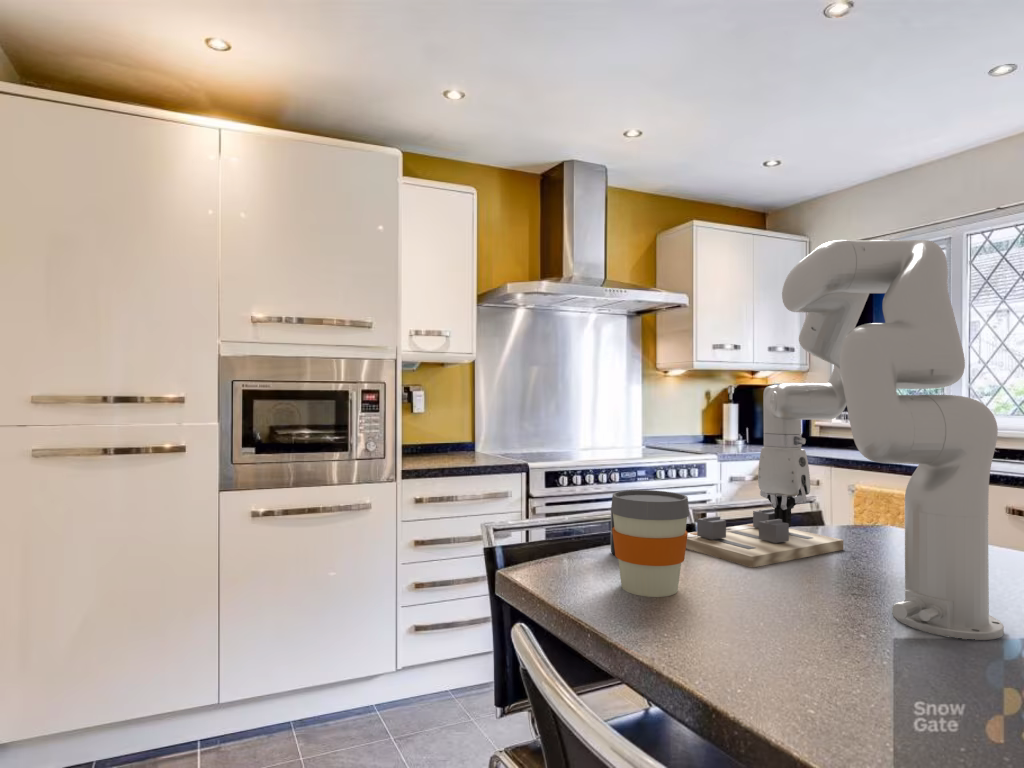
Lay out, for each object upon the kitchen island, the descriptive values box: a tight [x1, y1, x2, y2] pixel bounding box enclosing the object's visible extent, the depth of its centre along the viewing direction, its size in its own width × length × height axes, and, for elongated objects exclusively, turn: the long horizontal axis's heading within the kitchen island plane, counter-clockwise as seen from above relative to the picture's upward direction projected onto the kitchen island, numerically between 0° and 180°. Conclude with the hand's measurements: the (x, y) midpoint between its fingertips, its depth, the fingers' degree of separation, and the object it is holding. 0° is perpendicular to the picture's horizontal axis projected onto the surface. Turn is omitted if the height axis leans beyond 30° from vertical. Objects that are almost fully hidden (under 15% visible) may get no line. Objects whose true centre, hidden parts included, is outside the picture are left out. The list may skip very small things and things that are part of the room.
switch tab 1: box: [696, 515, 727, 540], centre depth 128 cm, size 4×4×4 cm
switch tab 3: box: [759, 519, 790, 543], centre depth 126 cm, size 4×4×4 cm
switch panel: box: [686, 523, 844, 569], centre depth 129 cm, size 28×20×2 cm
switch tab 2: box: [752, 507, 775, 528], centre depth 138 cm, size 4×4×4 cm
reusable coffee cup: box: [610, 489, 690, 598], centre depth 101 cm, size 12×13×15 cm
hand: (782, 526), depth 134 cm, fingers closed
